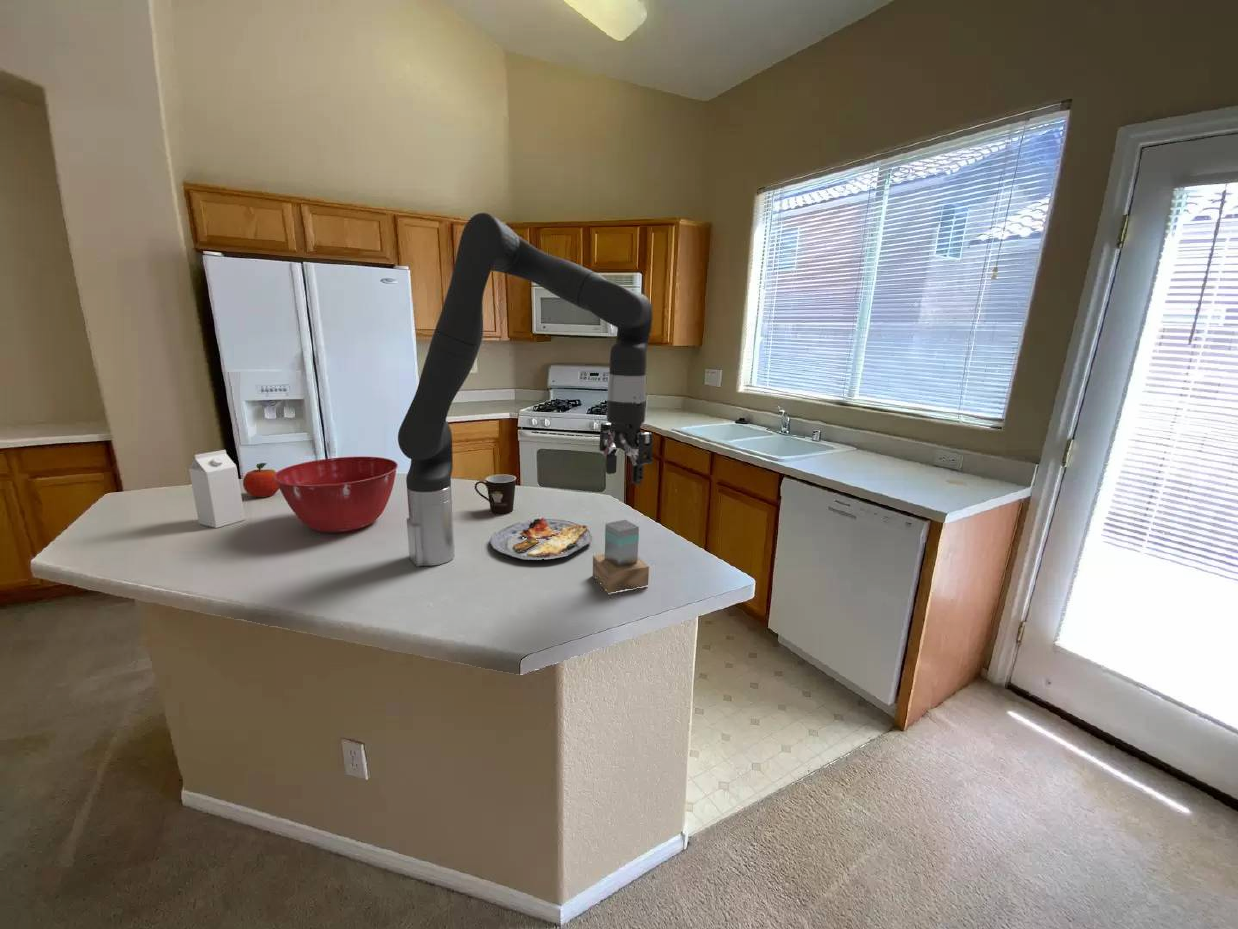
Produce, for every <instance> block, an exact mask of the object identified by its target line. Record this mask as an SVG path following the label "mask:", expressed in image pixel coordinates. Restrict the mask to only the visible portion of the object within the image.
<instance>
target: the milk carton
mask: <svg viewBox="0 0 1238 929" xmlns="http://www.w3.org/2000/svg"><path fill="white" fill-rule="evenodd" d="M188 471H189V475H190V476H189V477H190V482H191V486H192V493H193V498H194V503H195V509H196V514H197V520H198V523H199V525H203V526H208V527H211V528H216V529H217V528H221V527H224V526H228V525H231V524H234V523H238V522H241V521H244V520H245V519H246V518H245V512H244V506H243V505H244V504H243V499H242V498H243V497H242V493H241V492H242V491H241V486H240V481H239V474H238V468H237V464H236V463H234V461H233V460H232V459H231V457H230V456H229V455H228V454H227V450H226V449H221V450H217V451H216V450H215V451H210V452H209V451H208V452H204V453H197V454H194V461H193V462H192V463H191V465H190V466H189V467H188Z"/></svg>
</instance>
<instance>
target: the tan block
mask: <svg viewBox="0 0 1238 929" xmlns="http://www.w3.org/2000/svg"><path fill="white" fill-rule="evenodd" d="M649 570H650V566H649V565H647V564H646V562H645V561H643V559H642V558H640V557H639V556H638V558H637V563H634V564H630V565H626V566H623V567H619V568H617V567H616V566H614V565H613V564H611V563H610V562H608V561H607V560H606V559H605V553H601V554H596V555H592V577H593V576H594V577H596V579H597V580H598V582H599V583H601V585H602V586H603V587H604V589H606V590H607V592H608V593H611V592H616V591H620V590H625V589H633V588H637V587H642V586H646V585H648V586H649V578H650V576H649V573H650V571H649ZM594 577H593V578H594ZM596 579H595V580H596ZM597 580H596V581H597ZM598 582H597V583H598ZM599 583H598V584H599ZM601 585H600V586H601ZM602 586H601V587H602ZM604 589H603V590H604ZM607 592H606V593H607Z"/></svg>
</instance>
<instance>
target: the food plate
mask: <svg viewBox="0 0 1238 929" xmlns="http://www.w3.org/2000/svg"><path fill="white" fill-rule="evenodd" d="M553 530H557V531H561V533H560V532H558V533H560V534H558V533H556V532H554V531H553ZM521 531H522V532H521ZM518 532H521V533H519V534H521V535H522V537H524V538H527V539H526V540H524V541H523V542H522V541H521V542H518V543H515V544H513V545H512V549H513V548H514V549H515V550H514V549H513V550H514V551H512V550H511V549H510V548H509V546H508V545H509V544H508V541H509V540H511V538H513V537H512V536H511V534H516V533H518ZM521 535H520V536H521ZM514 536H516V535H514ZM552 536H555V537H553V538H552V539H549V541H548V542H544V544H543V543H541V544H542V545H541V546H540V547H539V546H537V547H536V548H535V549H534V550H532V551H530V552H529V553H526V555H524V554H521V553H520V552H523V551H526V550H528V549H529V548H531V547H533V546H535V545H536V544H538V543H539V540H536V539H547V538H548V537H552ZM513 539H514V538H513ZM547 540H548V539H547ZM592 541H593V537H592V535H591V533H590V530H589V529H588V526H587V525H582V524H578V523H575V522H572V521H569V520H563V519H554V518H553V519H551V518H549V519H548V518H544V517H542V518H536V519H534V520H533V519H532V520H531V519H530V520H526V521H522V522H516V523H514V524H512V525H510V526H507V527H505V528H503V529H500V530H498V531H496V532H494V533H493V534H492V535H491V537H490V538H489V543H490V545H491V546H492V548H493V549H494V550H496V551H498V552H499V553H502V554H505V555H506V556H510V557H512V558H518V559H520V560H528V561H529V560H533V561H534V560H536V561H538V560H539V561H543V560H542V559H544V560H551V559H552V560H553V559H559V558H563V557H568V556H569V555H572V554H573V553H575V552H577V551H579V550H580V549H582V548H584V547H585V546H587V545H588V544H590V543H591V542H592ZM507 546H508V547H507ZM508 548H509V549H508ZM533 548H534V547H533ZM529 550H530V549H529ZM529 550H528V551H529ZM516 551H517V552H516ZM518 551H519V552H518ZM526 552H527V551H526ZM561 552H563V553H561ZM523 553H524V552H523Z"/></svg>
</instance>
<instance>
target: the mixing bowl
mask: <svg viewBox="0 0 1238 929" xmlns="http://www.w3.org/2000/svg"><path fill="white" fill-rule="evenodd" d="M398 468H399V464H398V463H397V462H396V461H395V460H392V459H390V458H386V457H378V456H344V457H332V458H324V459H318V460H317V459H315V460H310V461H305V462H301V463H297V464H293V465H290V466H288V467H285V468H282V469H279V470H278V471H276V472H277V473H275V475H274V476H273V479H274V480H275V481H276V482H277V484H278V486H279V490H280V492H281V494H282V496H283V498H284V500H285V501H286V503H287V504H288V506H289V507H290V509H291V510H292V512H293V513H294V514H295V515H296V517H297V518H298V519H299V520H300V521H301V522H302V524H304V525H305V526H307V527H309V528H311V529H313V530H316V531H318V532H321V533H326V534H342V533H349V532H355V531H358V530H361V529H364V528H366V527H368V526H370V525H371V524H372V523H373V522H375V521H376V520H378V518H379V517H381V515H382V514H383V513H384V510H385V509H386V507H387V505H388V502H389V500H390V497H391V494H392V492H393V489H394V488H393V487H394V483H395V480H396V472H397V469H398Z"/></svg>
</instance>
